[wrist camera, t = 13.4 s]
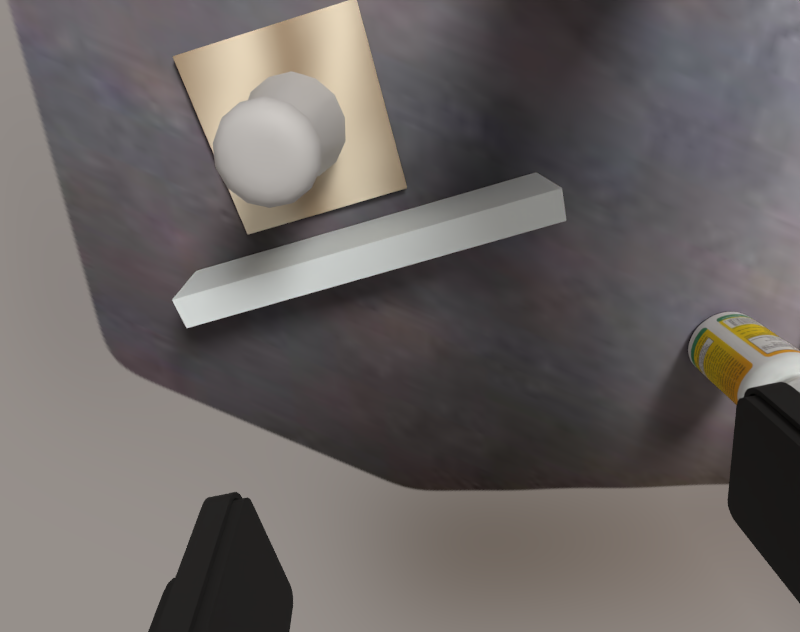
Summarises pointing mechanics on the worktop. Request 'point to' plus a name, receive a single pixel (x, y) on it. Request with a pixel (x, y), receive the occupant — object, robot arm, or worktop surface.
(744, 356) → the supplement bottle
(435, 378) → the worktop surface
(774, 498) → the robot arm
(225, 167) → the salt shaker
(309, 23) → the coaster board
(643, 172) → the worktop surface
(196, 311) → the acrylic wall
